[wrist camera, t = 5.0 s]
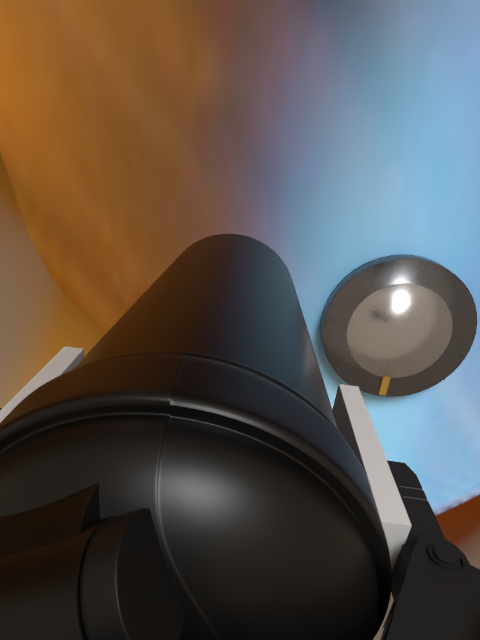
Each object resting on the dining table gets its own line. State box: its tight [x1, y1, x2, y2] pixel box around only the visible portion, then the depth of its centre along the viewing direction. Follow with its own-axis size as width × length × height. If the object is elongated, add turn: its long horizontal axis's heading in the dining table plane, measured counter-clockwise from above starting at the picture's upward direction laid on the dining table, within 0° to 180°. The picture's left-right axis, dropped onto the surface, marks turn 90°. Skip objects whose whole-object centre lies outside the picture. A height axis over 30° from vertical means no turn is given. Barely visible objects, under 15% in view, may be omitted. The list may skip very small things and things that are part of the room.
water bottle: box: [0, 234, 392, 640], centre depth 17 cm, size 10×10×23 cm
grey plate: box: [321, 255, 477, 396], centre depth 46 cm, size 16×16×2 cm
